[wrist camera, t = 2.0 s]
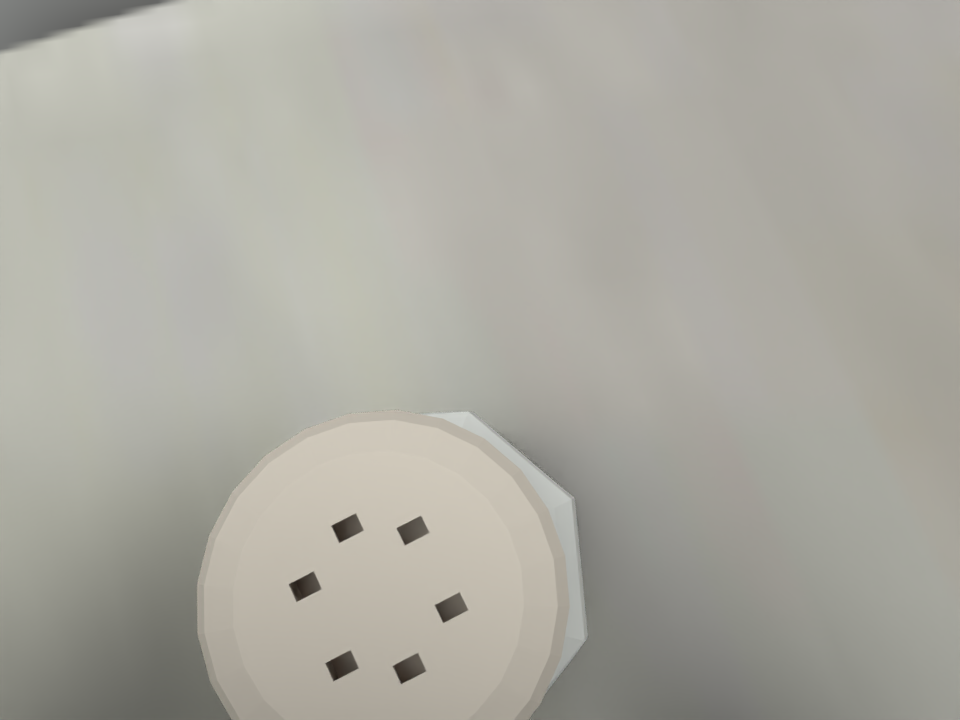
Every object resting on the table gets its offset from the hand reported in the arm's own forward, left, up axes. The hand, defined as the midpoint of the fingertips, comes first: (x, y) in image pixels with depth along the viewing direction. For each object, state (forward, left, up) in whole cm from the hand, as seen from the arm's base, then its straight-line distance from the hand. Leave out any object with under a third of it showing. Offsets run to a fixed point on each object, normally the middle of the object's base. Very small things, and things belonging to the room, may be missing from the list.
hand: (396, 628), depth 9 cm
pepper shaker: (0, 0, -9) cm, 9 cm away
